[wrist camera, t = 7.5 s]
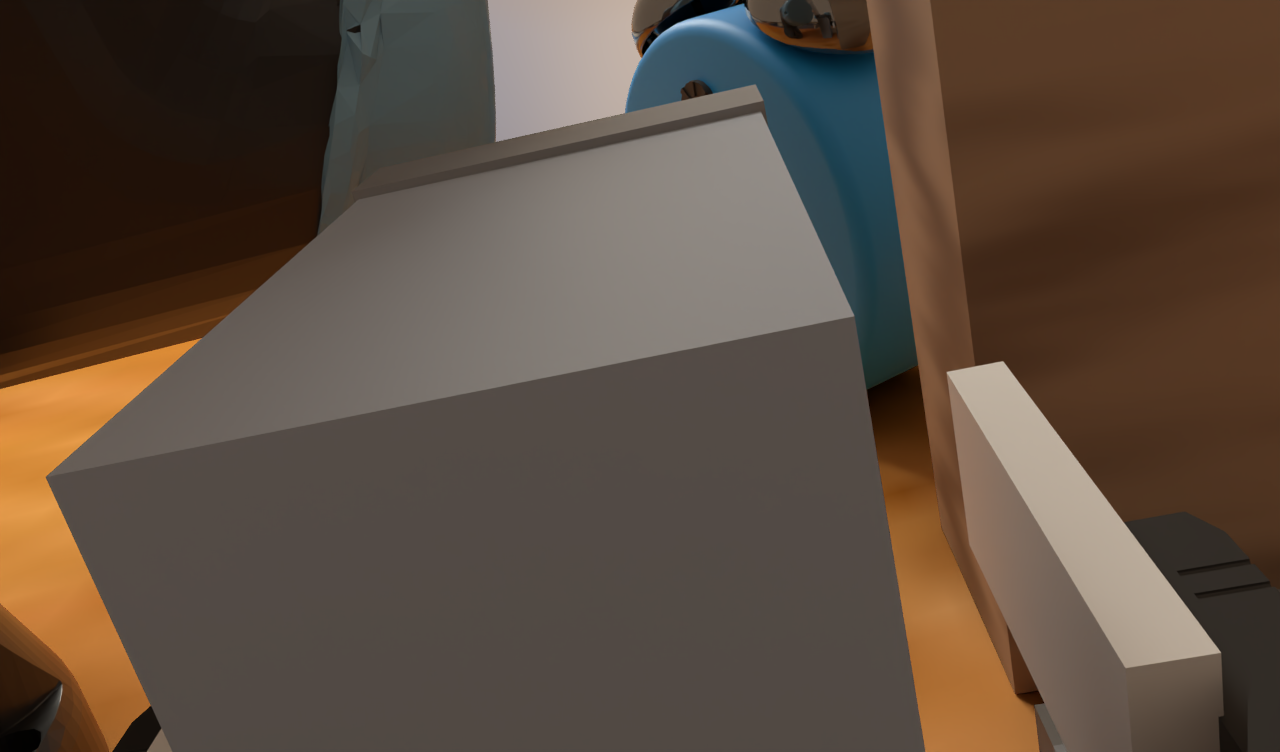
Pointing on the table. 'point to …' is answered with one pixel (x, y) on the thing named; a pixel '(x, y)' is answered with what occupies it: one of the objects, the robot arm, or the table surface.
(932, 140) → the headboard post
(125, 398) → the table surface
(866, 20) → the alarm clock
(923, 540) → the table surface
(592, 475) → the rail end
